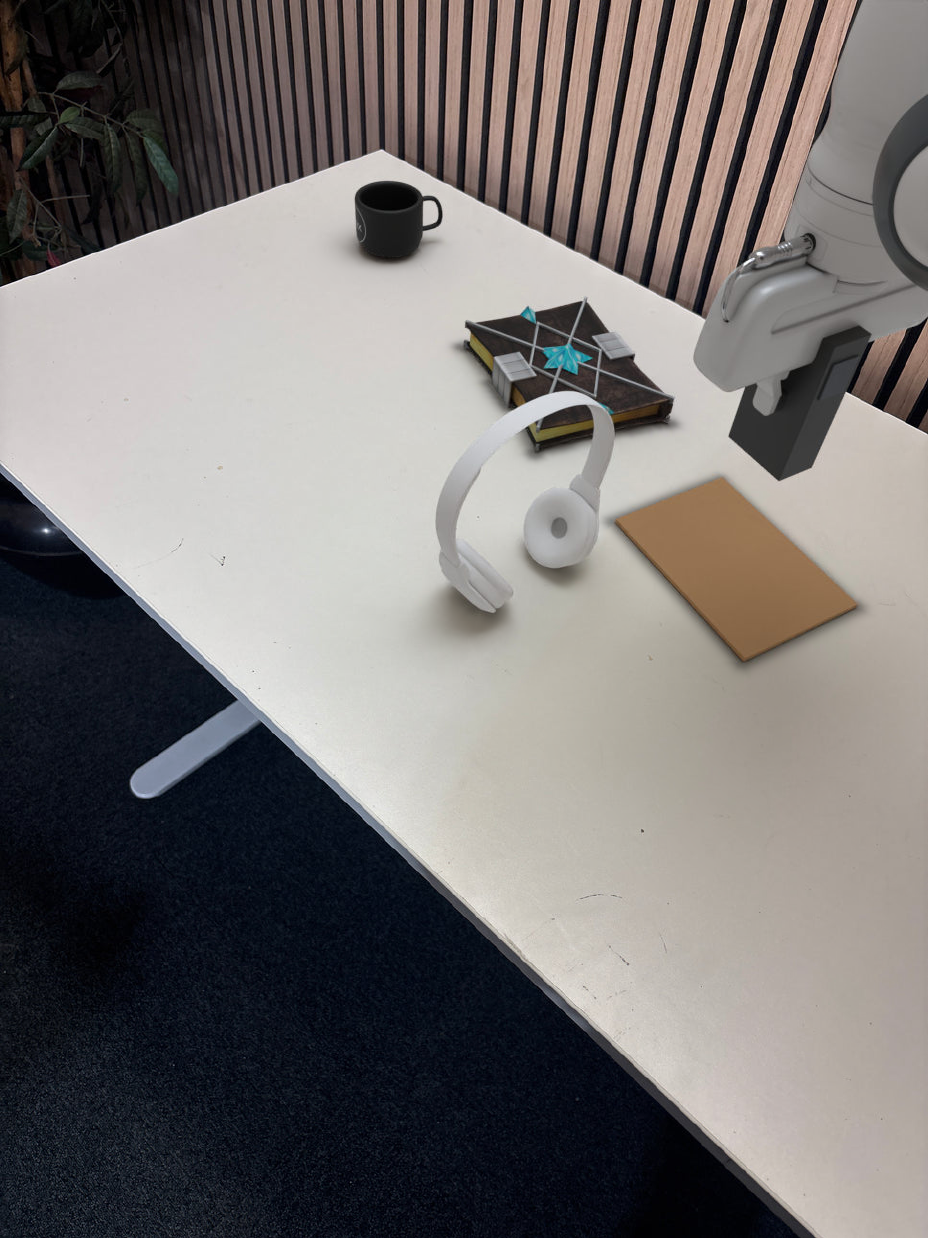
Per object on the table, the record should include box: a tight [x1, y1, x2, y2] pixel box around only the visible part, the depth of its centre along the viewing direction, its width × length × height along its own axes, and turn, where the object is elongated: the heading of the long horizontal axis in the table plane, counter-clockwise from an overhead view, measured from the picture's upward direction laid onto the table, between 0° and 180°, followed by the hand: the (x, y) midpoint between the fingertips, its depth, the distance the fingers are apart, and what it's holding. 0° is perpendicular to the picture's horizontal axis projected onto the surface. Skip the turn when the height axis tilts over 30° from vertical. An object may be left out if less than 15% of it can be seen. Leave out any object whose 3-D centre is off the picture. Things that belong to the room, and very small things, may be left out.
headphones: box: [434, 391, 616, 614], centre depth 80 cm, size 7×18×20 cm, turn 128°
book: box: [462, 296, 676, 452], centre depth 105 cm, size 22×17×5 cm
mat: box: [614, 477, 858, 662], centre depth 90 cm, size 20×14×1 cm
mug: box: [354, 180, 444, 258], centre depth 123 cm, size 12×9×7 cm
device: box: [727, 325, 872, 482], centre depth 68 cm, size 6×4×12 cm, turn 30°
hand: (791, 399), depth 68 cm, fingers closed on device, 3 cm apart
